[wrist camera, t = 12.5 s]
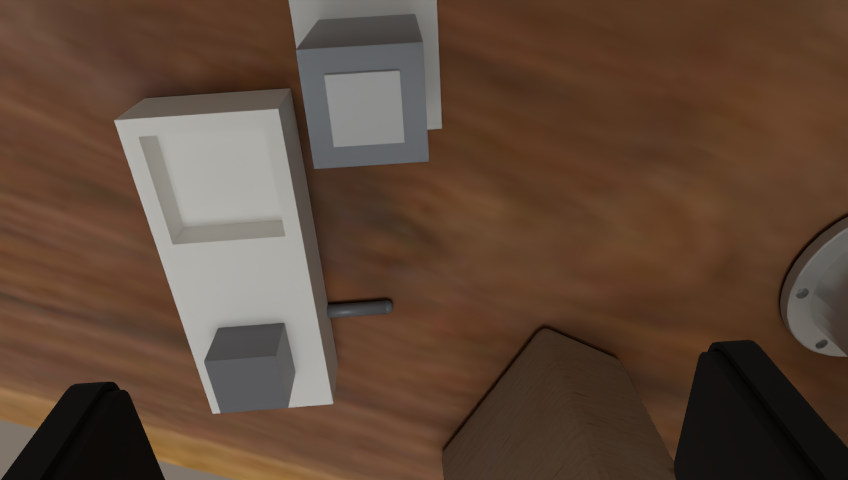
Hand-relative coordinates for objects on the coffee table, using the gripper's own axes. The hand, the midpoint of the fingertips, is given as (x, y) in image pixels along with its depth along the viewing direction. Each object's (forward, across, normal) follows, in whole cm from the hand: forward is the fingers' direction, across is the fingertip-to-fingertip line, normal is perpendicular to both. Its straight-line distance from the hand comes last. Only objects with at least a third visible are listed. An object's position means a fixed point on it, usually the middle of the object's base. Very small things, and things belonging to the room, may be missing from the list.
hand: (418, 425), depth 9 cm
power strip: (+25, +8, +10) cm, 28 cm away
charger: (+24, +2, -1) cm, 24 cm away
